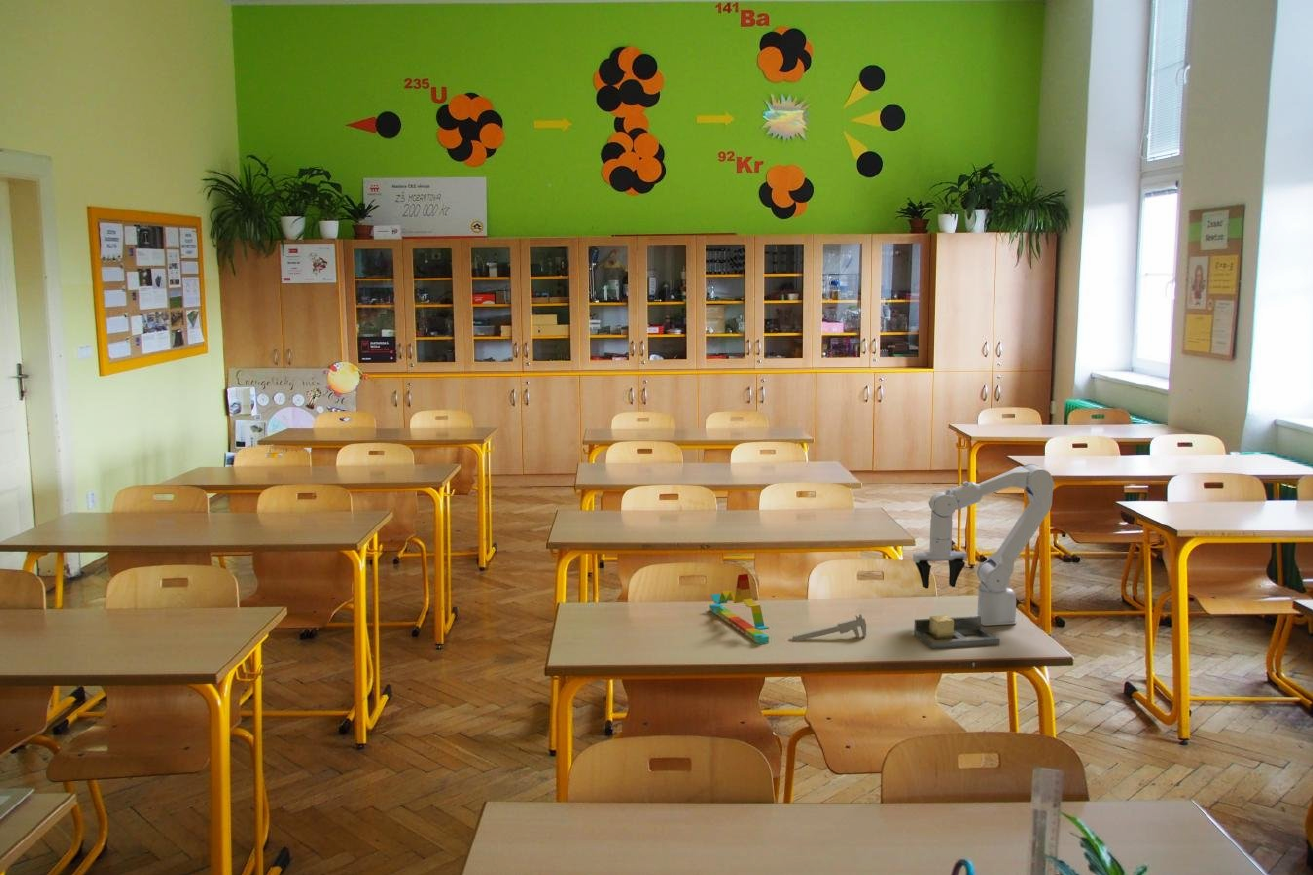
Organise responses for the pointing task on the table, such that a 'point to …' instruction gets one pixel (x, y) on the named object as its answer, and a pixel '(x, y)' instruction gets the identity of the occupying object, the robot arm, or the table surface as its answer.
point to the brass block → (941, 627)
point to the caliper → (835, 629)
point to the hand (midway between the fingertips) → (938, 586)
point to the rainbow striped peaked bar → (747, 629)
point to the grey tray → (957, 633)
